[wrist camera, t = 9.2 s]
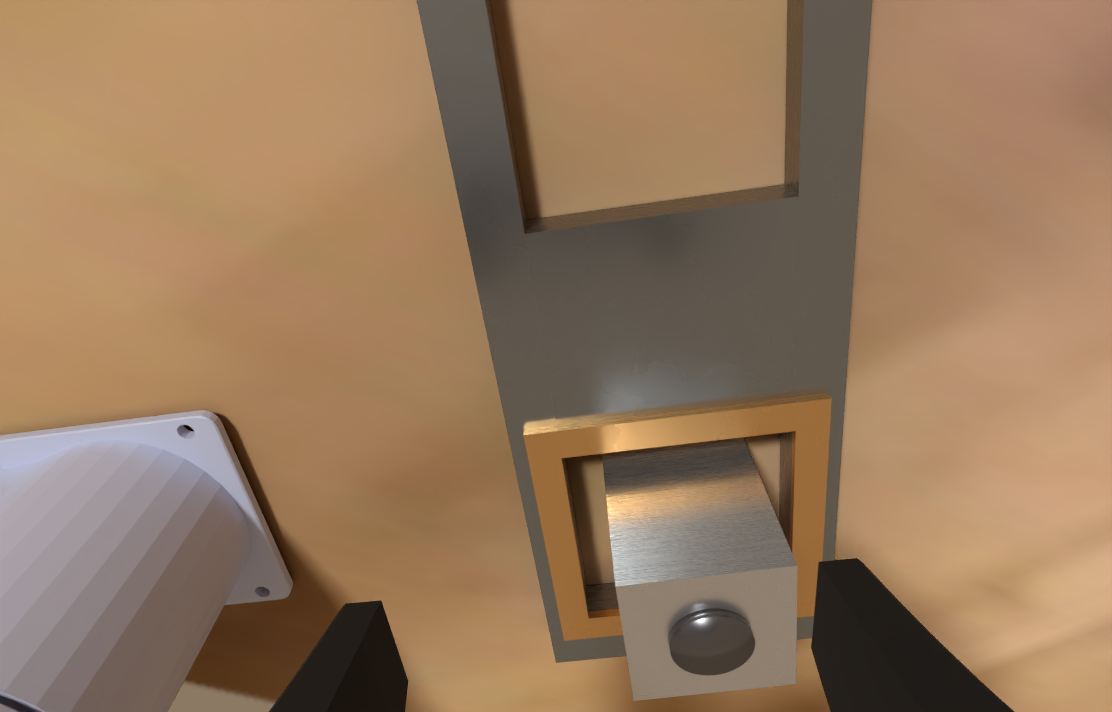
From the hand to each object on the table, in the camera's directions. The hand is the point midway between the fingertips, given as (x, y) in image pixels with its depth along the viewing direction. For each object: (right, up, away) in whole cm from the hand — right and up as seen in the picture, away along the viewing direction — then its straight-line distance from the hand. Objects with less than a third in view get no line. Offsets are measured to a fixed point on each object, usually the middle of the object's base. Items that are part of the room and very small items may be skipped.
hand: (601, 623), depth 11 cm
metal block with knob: (+3, 0, +12) cm, 12 cm away
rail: (+2, +6, +9) cm, 11 cm away
